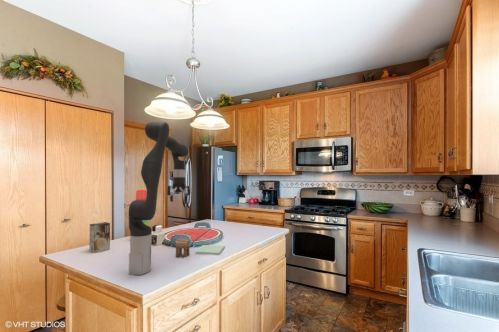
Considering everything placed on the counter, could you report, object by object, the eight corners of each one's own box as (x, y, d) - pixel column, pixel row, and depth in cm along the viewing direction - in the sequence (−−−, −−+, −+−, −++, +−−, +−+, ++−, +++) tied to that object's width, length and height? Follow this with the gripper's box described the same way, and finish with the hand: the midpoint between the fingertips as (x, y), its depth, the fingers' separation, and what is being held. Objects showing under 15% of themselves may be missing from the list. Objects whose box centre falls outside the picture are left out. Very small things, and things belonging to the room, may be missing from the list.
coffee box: (105, 247, 155) (105, 221, 155) (110, 249, 151) (110, 222, 152) (88, 251, 148) (89, 224, 148) (93, 253, 144) (94, 225, 144)
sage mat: (219, 254, 142) (219, 252, 142) (195, 253, 143) (195, 251, 143) (224, 247, 155) (224, 245, 155) (202, 246, 157) (202, 245, 157)
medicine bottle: (148, 244, 162) (149, 225, 163) (157, 241, 169) (157, 223, 169) (156, 245, 159) (156, 227, 160) (165, 243, 165) (165, 225, 166)
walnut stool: (185, 257, 137) (185, 243, 137) (175, 257, 137) (175, 242, 138) (189, 254, 143) (189, 240, 143) (179, 253, 143) (179, 239, 144)
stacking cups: (152, 239, 174) (153, 189, 175) (138, 243, 166) (139, 190, 167) (143, 237, 180) (144, 189, 181) (130, 240, 171) (131, 190, 172)
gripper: (166, 176, 158) (165, 202, 157) (189, 176, 158) (188, 202, 157) (169, 176, 165) (169, 201, 164) (191, 176, 165) (191, 201, 165)
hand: (178, 201), depth 161 cm, fingers open, 8 cm apart
